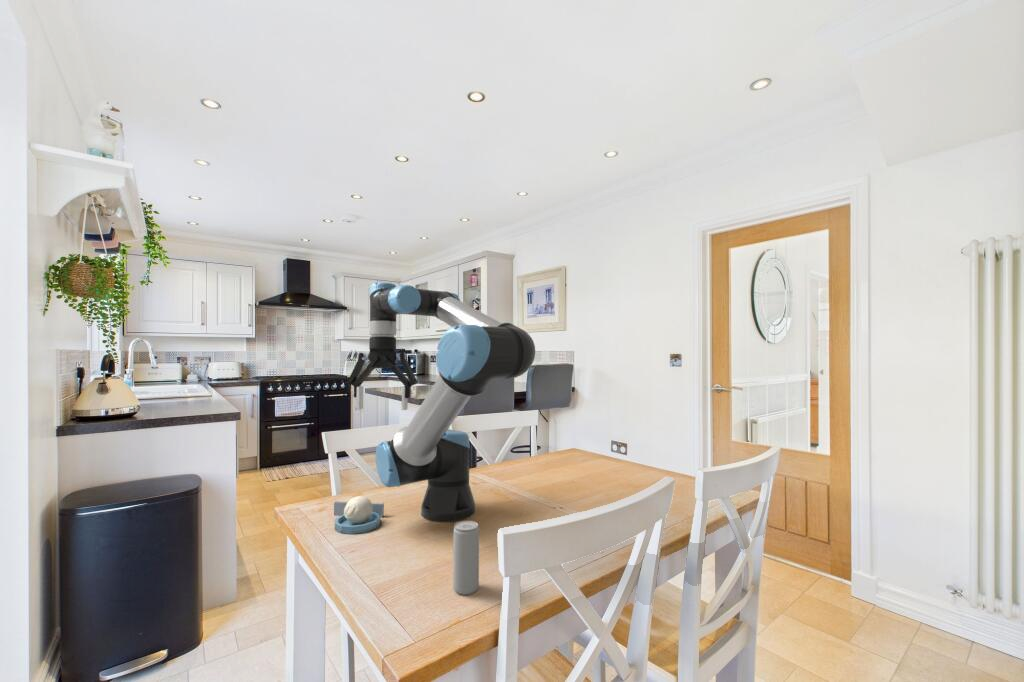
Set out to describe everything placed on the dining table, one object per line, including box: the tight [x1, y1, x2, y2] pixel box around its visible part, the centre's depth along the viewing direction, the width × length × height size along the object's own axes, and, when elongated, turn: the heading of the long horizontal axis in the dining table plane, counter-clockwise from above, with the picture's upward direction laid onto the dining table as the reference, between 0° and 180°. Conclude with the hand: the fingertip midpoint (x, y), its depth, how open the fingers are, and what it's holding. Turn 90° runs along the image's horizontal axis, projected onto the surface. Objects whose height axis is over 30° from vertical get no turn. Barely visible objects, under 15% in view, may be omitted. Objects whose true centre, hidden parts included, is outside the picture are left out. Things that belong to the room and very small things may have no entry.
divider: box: [333, 500, 385, 518], centre depth 123 cm, size 14×1×4 cm, turn 83°
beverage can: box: [452, 520, 480, 596], centre depth 84 cm, size 5×5×12 cm
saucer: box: [334, 512, 381, 535], centre depth 115 cm, size 11×11×2 cm
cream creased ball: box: [344, 495, 373, 524], centre depth 115 cm, size 7×7×7 cm
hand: (382, 409), depth 129 cm, fingers open, 13 cm apart
